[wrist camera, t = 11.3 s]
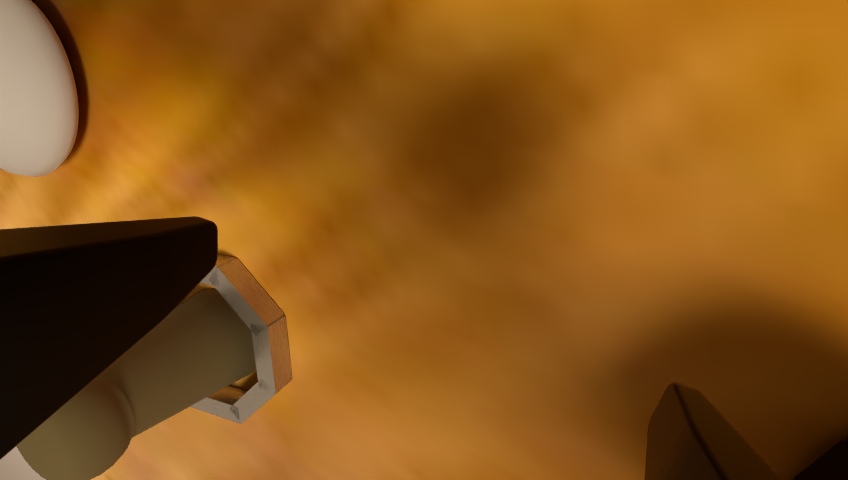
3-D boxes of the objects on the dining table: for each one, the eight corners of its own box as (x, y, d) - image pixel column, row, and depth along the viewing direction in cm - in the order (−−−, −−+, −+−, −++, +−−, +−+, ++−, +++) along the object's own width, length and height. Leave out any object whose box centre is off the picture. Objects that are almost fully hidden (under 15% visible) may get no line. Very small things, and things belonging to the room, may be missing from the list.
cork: (244, 393, 32) (68, 532, 22) (178, 334, 32) (-19, 442, 23) (275, 332, 29) (89, 460, 19) (202, 269, 30) (-11, 361, 20)
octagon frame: (279, 265, 27) (129, 342, 19) (296, 421, 30) (174, 543, 22) (92, 232, 33) (-81, 282, 25) (123, 366, 36) (-21, 447, 28)
